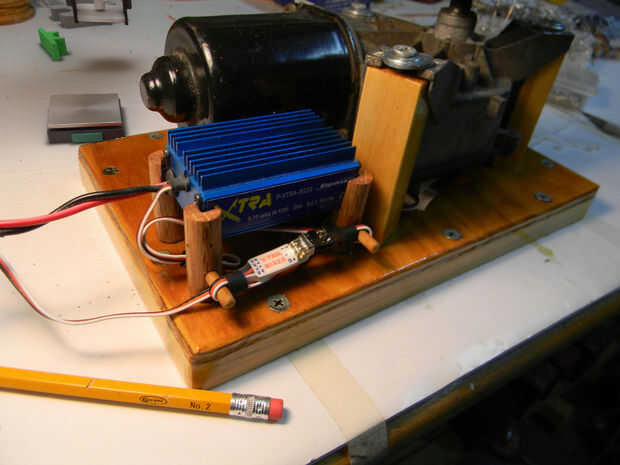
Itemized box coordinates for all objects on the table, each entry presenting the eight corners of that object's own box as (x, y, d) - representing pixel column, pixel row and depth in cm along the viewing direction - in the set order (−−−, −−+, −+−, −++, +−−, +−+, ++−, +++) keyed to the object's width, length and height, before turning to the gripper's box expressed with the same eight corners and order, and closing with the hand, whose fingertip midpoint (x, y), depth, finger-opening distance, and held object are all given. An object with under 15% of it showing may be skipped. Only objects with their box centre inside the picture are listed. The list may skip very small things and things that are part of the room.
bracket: (51, 19, 134) (42, -23, 127) (111, 12, 145) (106, -27, 138) (66, 30, 130) (58, -13, 123) (127, 22, 140) (123, -17, 133)
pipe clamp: (72, 61, 116) (68, 42, 113) (56, 63, 114) (52, 44, 111) (57, 44, 122) (53, 26, 119) (41, 46, 120) (37, 27, 117)
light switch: (126, 31, 108) (124, 8, 105) (79, 30, 104) (75, 6, 101) (122, 17, 114) (120, -6, 111) (78, 15, 111) (74, -8, 108)
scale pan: (48, 128, 85) (47, 124, 85) (51, 97, 94) (50, 94, 93) (121, 125, 89) (121, 122, 89) (118, 96, 98) (117, 93, 97)
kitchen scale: (50, 147, 87) (46, 130, 84) (53, 112, 96) (49, 97, 94) (125, 143, 91) (123, 127, 89) (121, 110, 100) (119, 95, 98)
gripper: (21, -98, 88) (46, 25, 103) (147, -83, 96) (154, 29, 110) (25, -104, 94) (48, 14, 108) (144, -89, 101) (151, 19, 116)
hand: (101, 22), depth 109 cm, fingers closed on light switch, 10 cm apart
